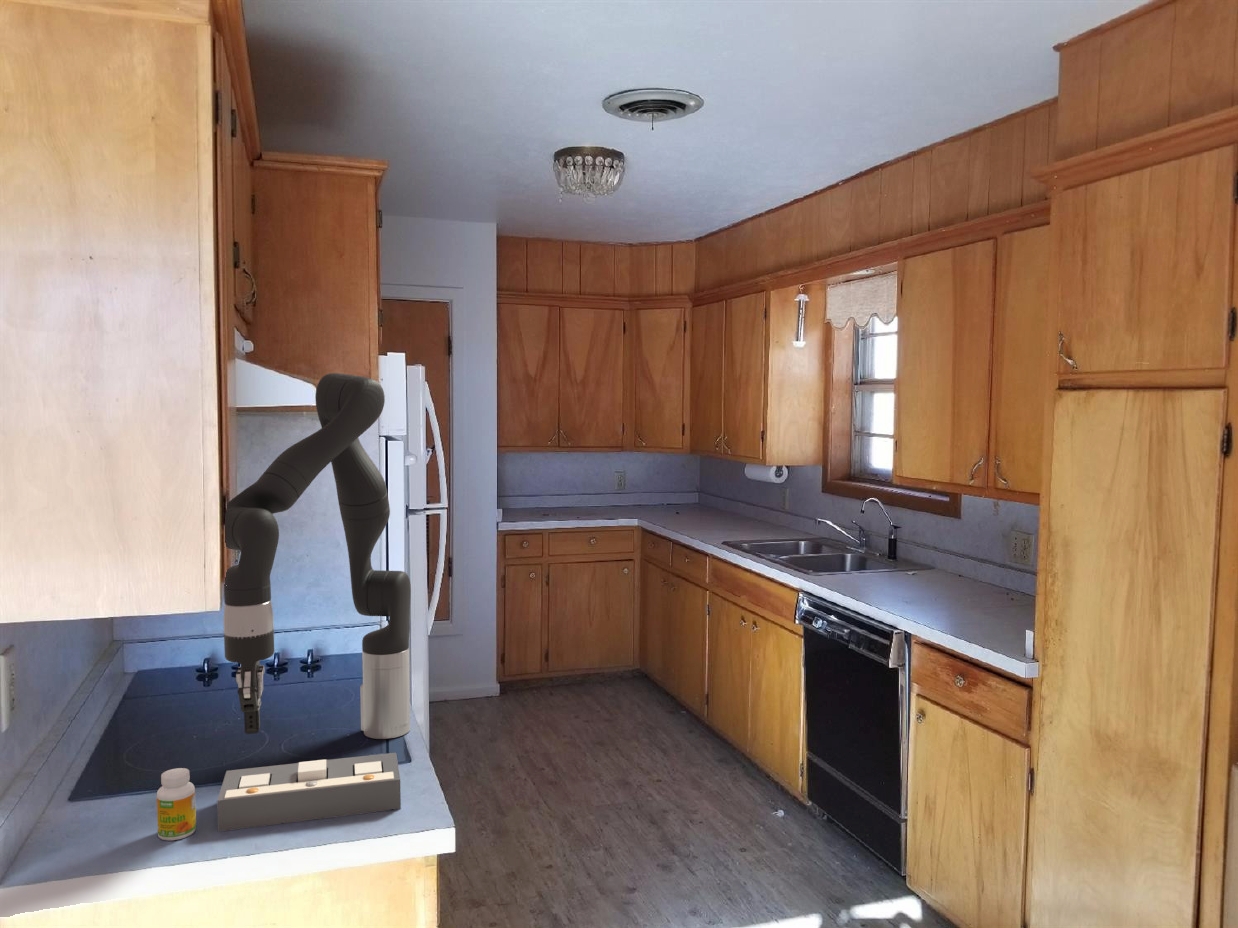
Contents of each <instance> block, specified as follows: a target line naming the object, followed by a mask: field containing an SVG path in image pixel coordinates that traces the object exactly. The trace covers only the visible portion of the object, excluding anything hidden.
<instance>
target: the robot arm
mask: <svg viewBox="0 0 1238 928" xmlns="http://www.w3.org/2000/svg"><path fill="white" fill-rule="evenodd" d="M314 395H315V408H316V413H317V417H318V420H319V423H320V426H321V428H320V429H318V430H317V431H315V432H314V433H312V434H311V435H307V437H304V438H303V439H301V440H299V441H298V442H295V443H294V444H292V445H291V446H289V447H288V448H286V449H285V450H284V451H283V452H282V453H279V455H278V456H277V457H276V458H275V459H274V460H273V462H271V464H270V465H268V467H267V468H266V469H265V470H264V472H263V473H262V474H261V476H259V478H258V479H257V480H256V481H255V482H254V483H253V484H251V485H249V486H248V487H246V488H245V489H244V490H242V491H240V493H239V494H237V495H236V496H235V497H233V498H232V499H230V500H229V501H228V502H227V503H226V504H227V510H226V514H225V543H226V547H227V548H226V549H228V550H233V551H234V550H237V551H240V557H239V561H238V564H234V565H232V566H230V567H229V568H226V570H227V572H226V571H225V572H226V577H225V584H224V583H223V596H224V597H223V599H224V609H223V644H224V658H225V660H226V661H227V662H230V663H233V664H234V663H237V664H240V666H238V667H237V668H238V669H237V671H236V674H235V678H236V680H235V681H236V683H237V686H238V689H237V694H238V699H239V706H240V711H241V713H243V716H244V719H243V721H244V733H245V734H246V735H251V734H257V733H259V732H260V728H261V718H260V715H261V714H260V709H261V706H262V697H263V694H262V693H263V691H264V674H265V665H264V664H260V663H261V661H265V660H267V659H269V658H271V657H273V655H274V653H275V632H274V631H275V629H274V609H273V605H272V604H273V603H272V586H271V584H272V583H271V573H272V570H273V566H274V562H275V558H276V554H277V549H278V544H279V539H280V528H279V524H278V522H277V519H276V518H275V516H274V514H277V513H282V512H283V513H284V512H286V511H288V510H290V509H291V508H292V507H293V506H294V504H295V503H297V501H298V500H299V499H300V497H301V496H302V495H303V494H304V492H305V491H306V490H307V488H308V487H309V486H310V485H311V484H312V482H313V481H314V480H315V479H316V478H317V476H319V474H320V473H321V472H323V470H324V469H325V468H326V467H327V466H328V465H329V464H330V463H331V468H332V472H333V477H334V482H335V487H336V488H335V489H336V495H337V501H338V502H337V503H338V506H339V513H340V517H341V521H342V526H343V530H344V535H345V540H346V541H345V542H346V547H347V555H348V562H349V575H350V583H351V587H350V588H351V596H352V600H353V605H354V607H355V610H356V612H357V613H358V615H362V616H366V617H388V623H387V625H385V626H384V627H382V628H379V629H376V630H373V631H371V632H369V633H366V634H365V635H364V636H363V637H362V642H361V645H362V646H361V647H362V648H361V651H362V652H361V653H362V658H361V660H362V684H360V688H359V691H360V693H359V694H360V730H361V731H363V734H364V736H366V737H367V738H370V739H376V740H388V739H394V738H399V737H401V736H404V735H406V734H408V733H409V732H410V730H411V705H410V703H411V701H410V700H411V696H410V695H411V694H410V691H411V690H410V688H411V687H410V630H411V627H410V626H411V622H410V621H411V619H410V617H411V599H412V597H411V595H412V587H411V584H412V583H411V579H410V577H409V575H408V573H407V572H406V571H402V570H378V569H377V570H374V569H373V567H372V553H373V551H374V548H375V546H376V543H377V542H378V540H379V538H380V537H381V536H382V533H383V532H384V530H385V528H386V527H387V524H388V521H389V519H390V515H391V507H390V502H389V501H390V500H389V496H388V488H387V484H386V481H385V478H384V477H383V475H382V473H381V471H380V469H379V468H378V467H377V466H376V464H375V463H374V461H373V460H372V459H371V457H370V455H369V454H368V453H367V451H366V450H365V448H364V447H363V445H362V443H361V441H360V439H359V437H361V436H362V435H363V434H364V433H365V432H366V431H367V430H368V429H370V428H371V427H372V426H373V424H375V423H376V422H377V420H378V419H379V418H380V416H381V414H382V413H383V410H384V408H385V407H384V406H385V403H386V402H385V400H386V399H385V396H386V395H385V392H384V388H383V387H382V385H381V384H380V382H378V380H375V379H373V378H370V377H366V376H361V375H353V374H348V373H347V374H346V373H339V372H333V373H332V372H331V373H327V374H325V375H323V376H322V377H321V378H320V380H319V381H318V382H317V386H316V390H315V394H314ZM226 585H227V586H226Z"/></svg>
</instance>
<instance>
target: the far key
mask: <svg viewBox="0 0 1238 928" xmlns="http://www.w3.org/2000/svg"><path fill="white" fill-rule="evenodd" d="M376 773H382V766H381V761H377V762H368V763H359V764H355V776H358V775H367V774H376Z"/></svg>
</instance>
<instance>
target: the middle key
mask: <svg viewBox="0 0 1238 928" xmlns="http://www.w3.org/2000/svg"><path fill="white" fill-rule="evenodd" d="M326 760H327V759H317V760H309V761H308V760H307V761H299V762H298V763H299V766H298V782H305V781H314V780H323V779H326V778H327V769H326Z"/></svg>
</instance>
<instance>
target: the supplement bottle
mask: <svg viewBox="0 0 1238 928" xmlns="http://www.w3.org/2000/svg"><path fill="white" fill-rule="evenodd" d="M190 775H191V774H190V770H189V769H188V768H185V767H183V768H182V767H178V768H177V767H176V768H172V769H168V770H166V771H164V772H162V773H161V775H160V782H161V785H162V786H160V787H159V788H158V790H157V792H156V812H157V813H156V815H157V817H156V818H157V835H158V836H157V837H158V838H159V839H160V840H163V841H167V842H168V841H177V840H182V839H185V838H187V837H189V836H191V835H192V834H194V833H195V831H196V829H197V818H196V817H197V816H196V814H197V813H196V788H195V785H194V783H192V781H191V782H190V779H191V778H190Z"/></svg>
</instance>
